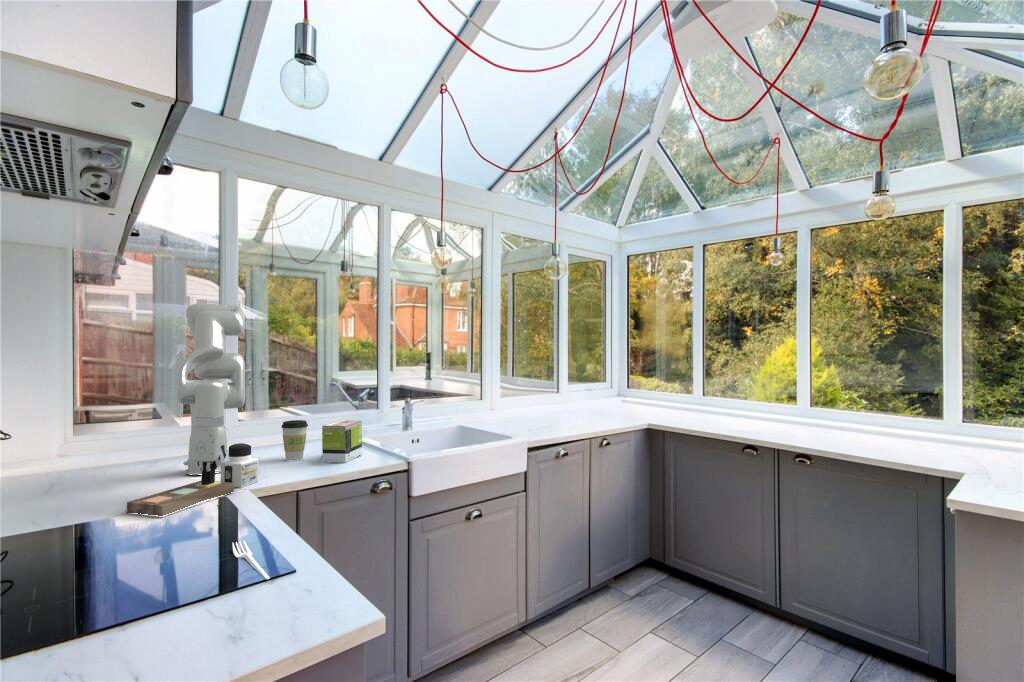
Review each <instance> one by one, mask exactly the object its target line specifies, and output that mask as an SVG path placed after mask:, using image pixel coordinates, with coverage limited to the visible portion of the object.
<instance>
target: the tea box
mask: <svg viewBox="0 0 1024 682" xmlns="http://www.w3.org/2000/svg"><path fill="white" fill-rule="evenodd" d="M362 422H363V421H362V420H361V419H359V420H358V419H339V420H337V421H332V422H329V423H326V424H323V425H322V427H321V428H322V429H321V430H322V431H321V433H322V434H321V435H322V440H321V442H322V445H321V446H322V448H321V449H322V450H321V451H322V454H321V455H322V456H321V457H322V463H327V462H336V463H335V464H345V463H348V462H350V461H353V460H354V459H356V458H358V457H360V456H362V455H363V423H362ZM361 454H362V455H361ZM359 455H360V456H359ZM357 456H358V457H357ZM337 462H338V463H337Z"/></svg>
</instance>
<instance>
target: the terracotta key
mask: <svg viewBox="0 0 1024 682" xmlns="http://www.w3.org/2000/svg"><path fill="white" fill-rule="evenodd" d="M170 499H173V497H165V496H157V497H153V498H150V499H147V500H143V501H142V503H151V504H157V503H160V502H163V501H167V500H170Z"/></svg>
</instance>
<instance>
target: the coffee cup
mask: <svg viewBox="0 0 1024 682" xmlns="http://www.w3.org/2000/svg"><path fill="white" fill-rule="evenodd" d="M280 427H281V428H282V440H283V441H282V442H283V448H284V449H283V450H284V454H285V460H286V459H287V460H297V459H302V458H303V459H304V451H305V447H306V440H307V430H308V429H307V428H308V427H309V425H308V422H307V420H302V419H295V420H294V419H293V420H285V421H283V422H282V425H281V426H280ZM303 459H302V460H303ZM287 460H286V461H287ZM297 461H298V460H297Z"/></svg>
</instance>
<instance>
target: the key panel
mask: <svg viewBox="0 0 1024 682" xmlns="http://www.w3.org/2000/svg"><path fill="white" fill-rule="evenodd" d="M201 482H202V479H201V480H198V481H193V482H191V483H187V484H185V485H181V486H178V487H173V488H171V489H168V490H167V489H166V490H164V491H160V492H158V493H157V492H156V493H154V494H151V495H146V496H142V497H139V498H137V499H133V500H129V501H127V502H126V514H127V513H138V514H140V513H141V514H148V515H158V516H163V515H166V514H169V513H172V512H175V511H177V510H180V509H183V508H185V507H188V506H190V505H193V504H196V503H198V502H201V501H204V500H207V499H211V498H214V497H218V496H221V495H225V494H228V493H231V492H234V491H235V490H234V488H235V487H234V483H229V482H221V481H220V482H221V484H218V485H214V486H211V487H208V488H207V487H196V486H195V485H197V484H200V483H201ZM215 482H218V481H216V480H215ZM184 488H190V489H198V491H195V492H192V493H189V494H186V495H175V494H170V492H174V491H177V490H180V489H184ZM234 493H235V492H234ZM157 496H165V497H173V499H170V500H167V501H163V502H160V503H157V504H151V503H142V501H143V500H147V499H150V498H153V497H157Z"/></svg>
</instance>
